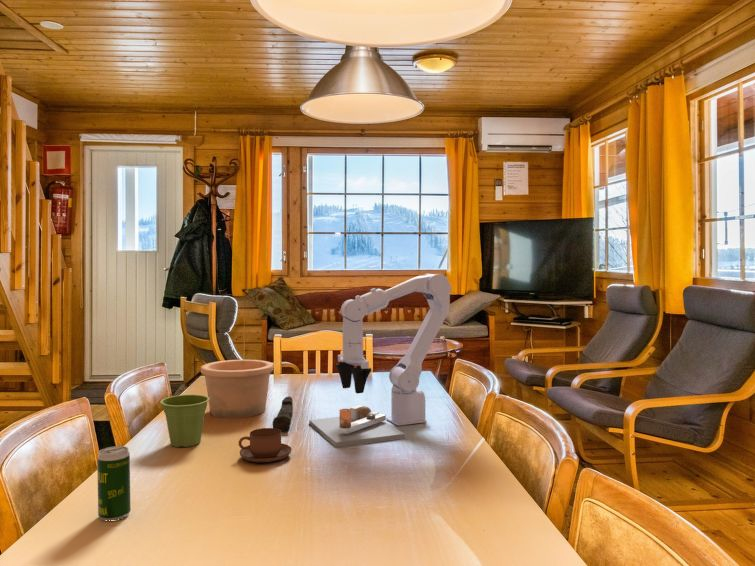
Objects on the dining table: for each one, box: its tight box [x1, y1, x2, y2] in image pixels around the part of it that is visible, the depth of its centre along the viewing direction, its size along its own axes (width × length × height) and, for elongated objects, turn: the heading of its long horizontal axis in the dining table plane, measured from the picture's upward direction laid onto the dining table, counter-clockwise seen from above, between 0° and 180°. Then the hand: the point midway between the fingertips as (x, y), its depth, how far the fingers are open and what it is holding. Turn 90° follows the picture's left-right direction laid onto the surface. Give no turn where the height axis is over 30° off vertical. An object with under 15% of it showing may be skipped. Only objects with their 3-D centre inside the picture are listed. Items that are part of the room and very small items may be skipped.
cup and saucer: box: [238, 427, 292, 464], centre depth 139 cm, size 12×12×6 cm
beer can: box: [96, 445, 132, 521], centre depth 107 cm, size 5×5×12 cm
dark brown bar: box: [272, 396, 294, 434], centre depth 171 cm, size 23×5×6 cm, turn 1°
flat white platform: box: [308, 404, 406, 448], centre depth 161 cm, size 19×23×4 cm
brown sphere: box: [359, 406, 372, 419], centre depth 169 cm, size 4×4×4 cm
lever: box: [339, 408, 387, 434], centre depth 160 cm, size 18×5×6 cm, turn 143°
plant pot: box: [160, 394, 210, 448], centre depth 150 cm, size 12×12×11 cm
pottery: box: [200, 359, 275, 419], centre depth 182 cm, size 22×22×14 cm
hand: (352, 390), depth 166 cm, fingers open, 7 cm apart
